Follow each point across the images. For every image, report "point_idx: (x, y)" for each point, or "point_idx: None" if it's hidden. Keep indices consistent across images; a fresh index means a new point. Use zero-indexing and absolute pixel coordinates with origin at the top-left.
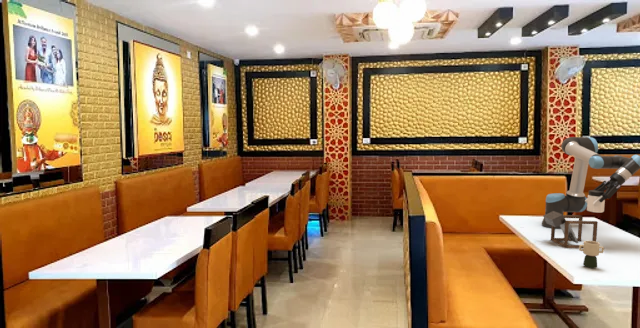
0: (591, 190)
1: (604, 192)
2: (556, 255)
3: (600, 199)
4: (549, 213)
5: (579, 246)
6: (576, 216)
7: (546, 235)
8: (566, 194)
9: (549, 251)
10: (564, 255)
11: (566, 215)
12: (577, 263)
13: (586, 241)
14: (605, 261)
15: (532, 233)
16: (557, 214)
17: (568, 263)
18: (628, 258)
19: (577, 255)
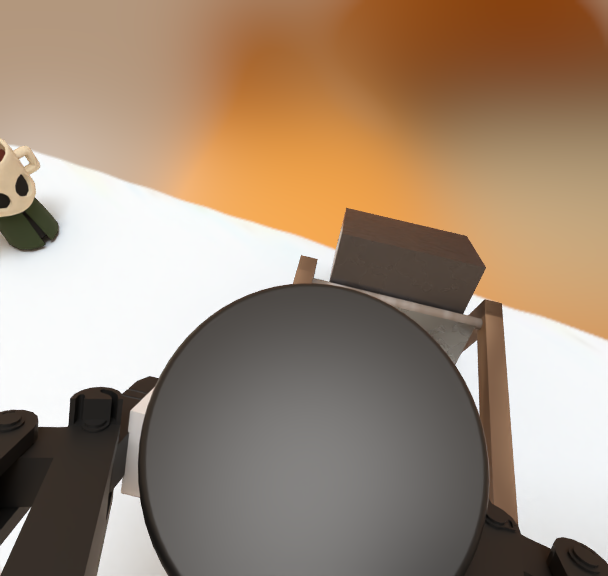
0: (420, 375)
1: (151, 539)
2: (199, 229)
3: (149, 391)
4: (462, 248)
5: (30, 150)
6: (489, 475)
7: (534, 416)
8: None
9: (253, 240)
10: (190, 253)
11: (500, 395)
12: (90, 227)
13: (5, 156)
14: (52, 345)
15: (565, 370)
16: (387, 237)
17: (105, 202)
18: (19, 522)
19: (172, 299)
